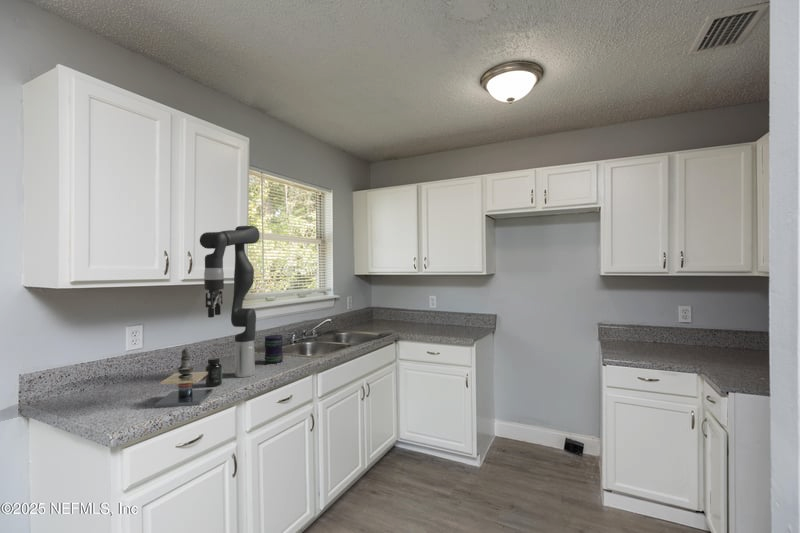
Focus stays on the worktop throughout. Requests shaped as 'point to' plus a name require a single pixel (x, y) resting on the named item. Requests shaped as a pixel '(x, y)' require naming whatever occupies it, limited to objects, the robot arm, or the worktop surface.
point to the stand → (184, 391)
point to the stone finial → (185, 364)
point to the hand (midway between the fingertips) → (214, 316)
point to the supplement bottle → (213, 372)
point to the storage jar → (273, 349)
